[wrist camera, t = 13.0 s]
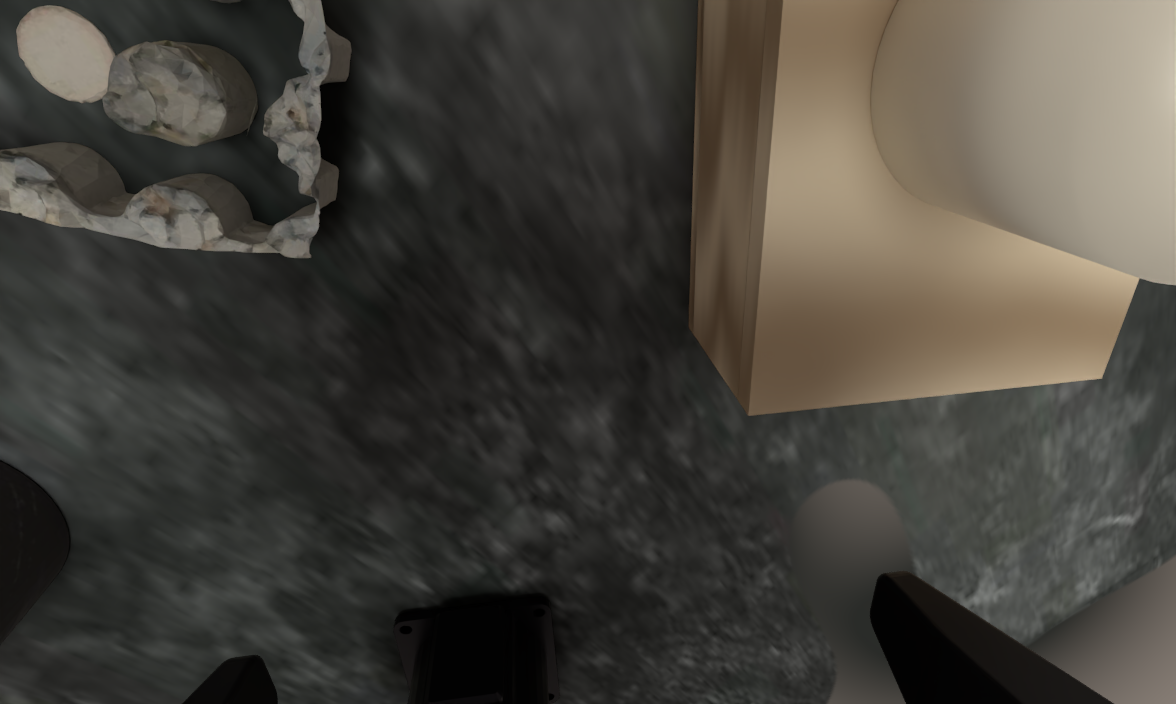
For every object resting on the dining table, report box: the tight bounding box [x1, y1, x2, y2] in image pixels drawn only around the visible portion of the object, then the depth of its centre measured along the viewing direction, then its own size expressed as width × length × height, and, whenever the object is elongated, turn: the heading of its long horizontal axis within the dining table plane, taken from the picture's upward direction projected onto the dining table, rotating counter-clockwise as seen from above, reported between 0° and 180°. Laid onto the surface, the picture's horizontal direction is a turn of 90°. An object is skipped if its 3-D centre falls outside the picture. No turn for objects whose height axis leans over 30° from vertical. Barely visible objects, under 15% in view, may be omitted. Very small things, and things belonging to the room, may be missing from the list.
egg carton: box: [0, 0, 352, 258], centre depth 14 cm, size 11×8×4 cm
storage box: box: [689, 0, 767, 399], centre depth 15 cm, size 16×10×5 cm, turn 3°
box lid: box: [738, 0, 1139, 416], centre depth 13 cm, size 16×10×1 cm, turn 3°
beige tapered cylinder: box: [871, 0, 1176, 285], centre depth 10 cm, size 6×6×5 cm
